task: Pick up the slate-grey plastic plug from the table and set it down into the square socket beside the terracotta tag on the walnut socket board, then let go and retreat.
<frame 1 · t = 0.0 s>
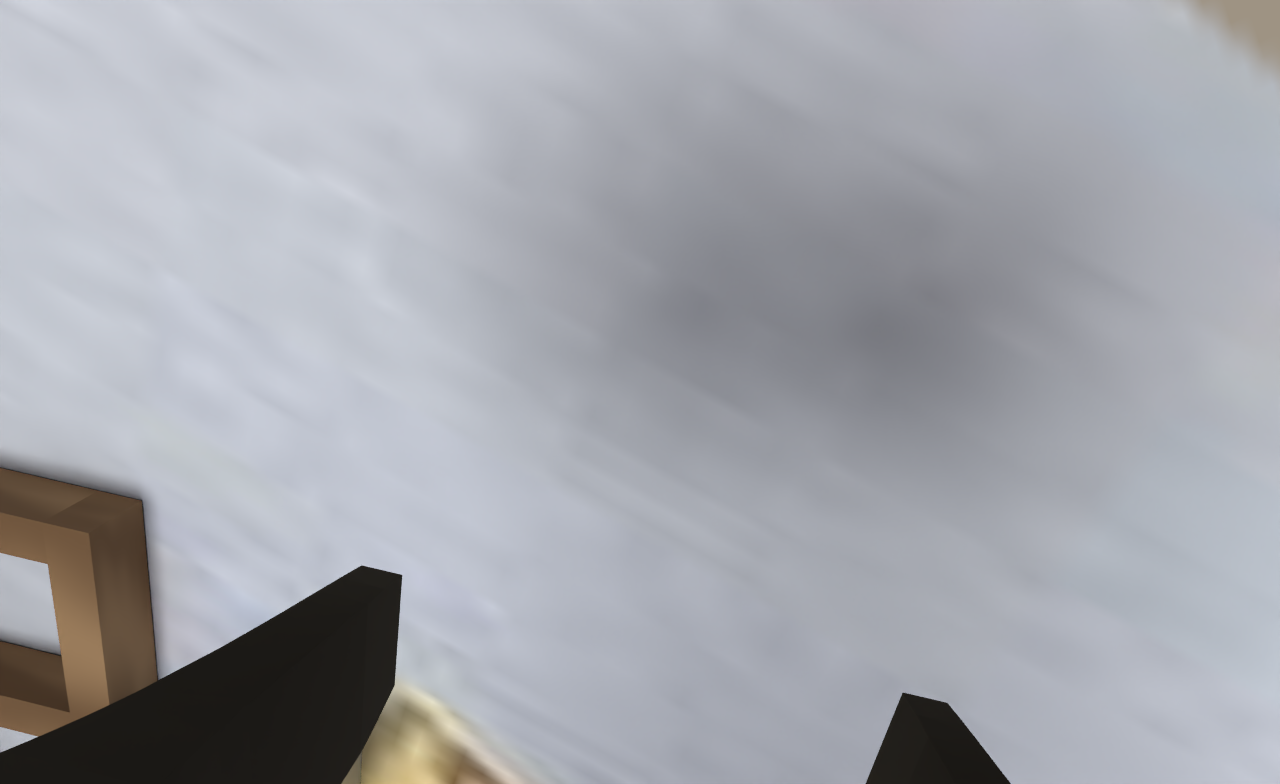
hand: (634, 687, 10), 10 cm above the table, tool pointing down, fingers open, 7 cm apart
plug: (303, 730, 25), on the table
socket board: (44, 667, 26), on the table
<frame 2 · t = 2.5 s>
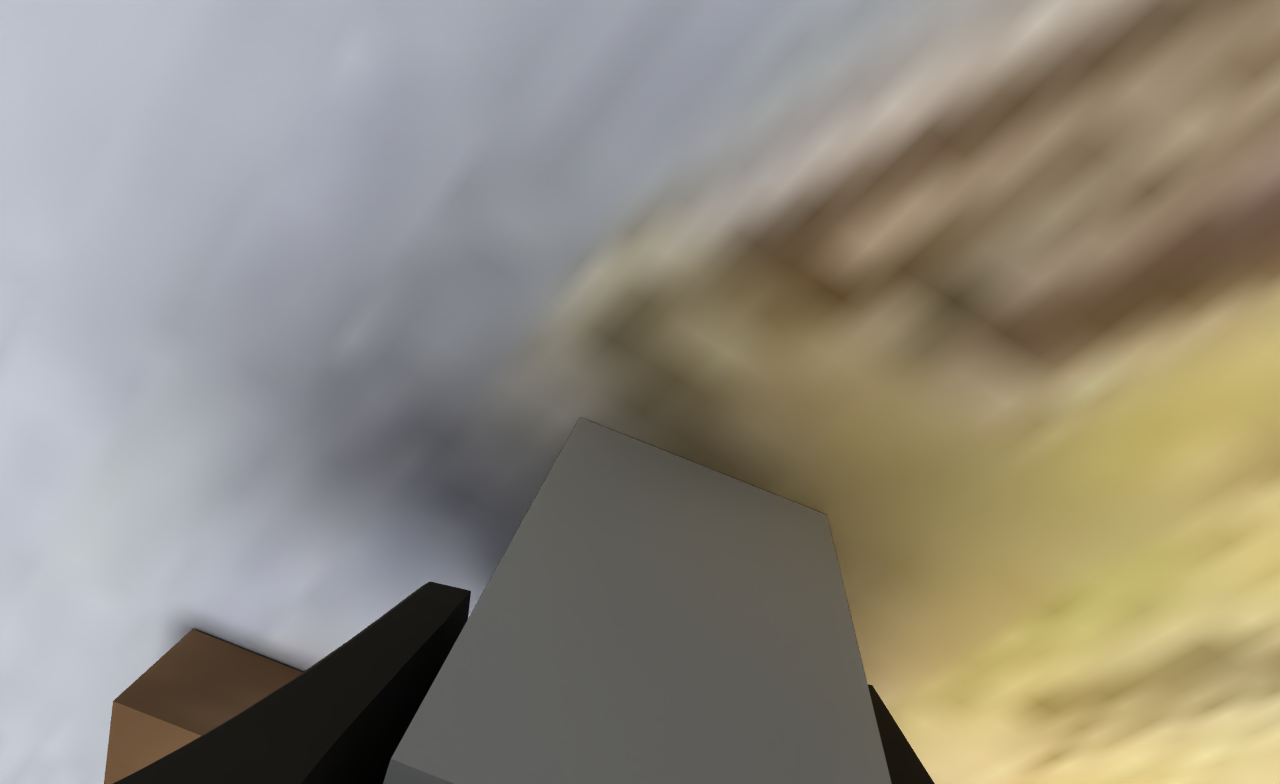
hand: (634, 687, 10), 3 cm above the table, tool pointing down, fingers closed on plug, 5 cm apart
plug: (656, 569, 13), on the table, touching gripper
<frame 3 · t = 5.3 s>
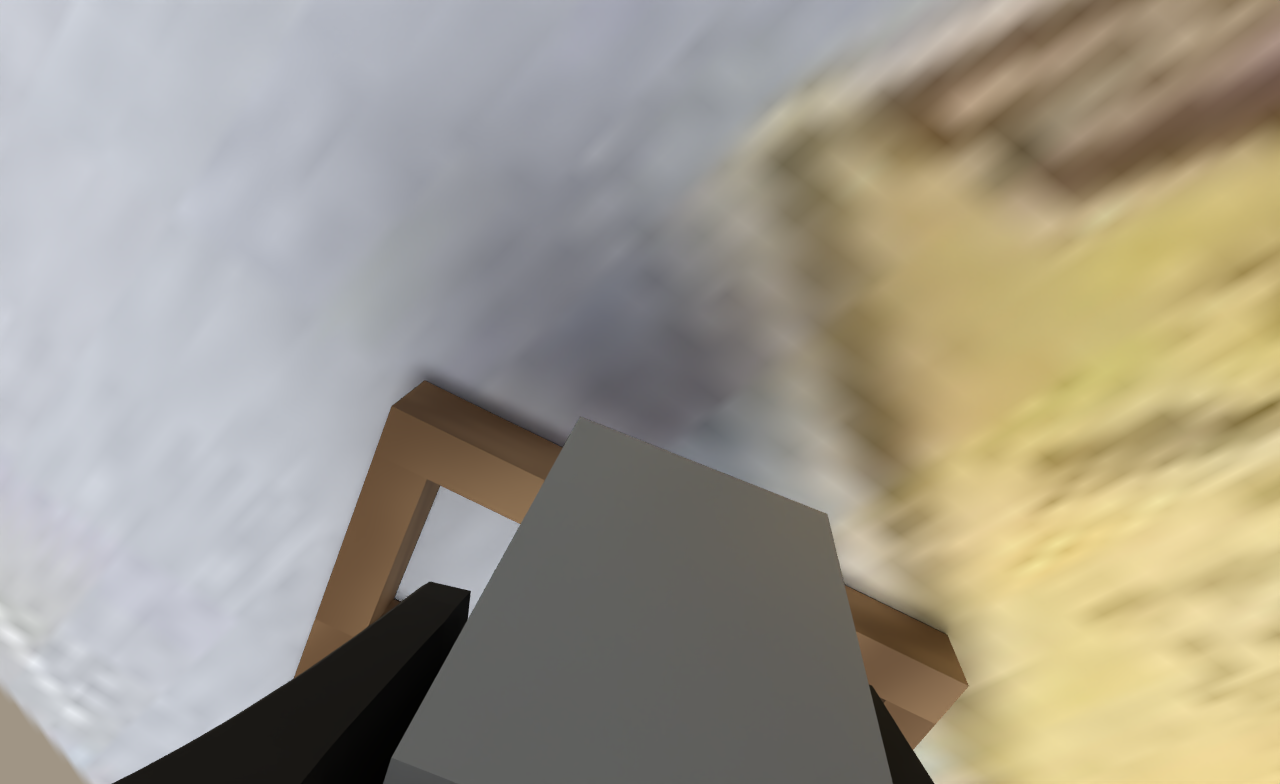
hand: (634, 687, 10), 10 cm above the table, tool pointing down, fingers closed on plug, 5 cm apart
plug: (656, 568, 13), point 7 cm above the table, touching gripper
socket board: (623, 623, 21), on the table
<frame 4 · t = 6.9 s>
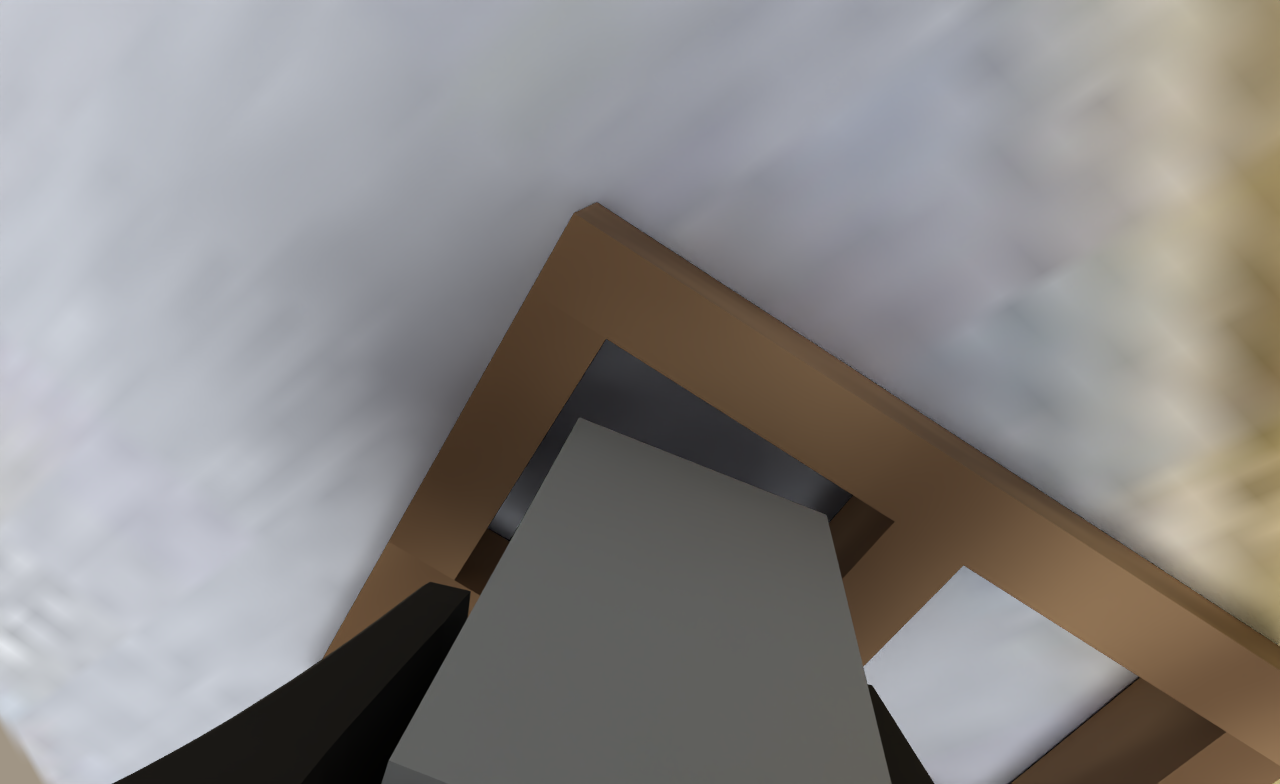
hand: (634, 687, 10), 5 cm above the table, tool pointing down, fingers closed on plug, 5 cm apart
plug: (655, 569, 13), point 3 cm above the table, touching gripper
socket board: (814, 590, 15), on the table
when the fingers open (4 cm above the table, at t = 8.3 s): plug stays where it is, resting in socket board.
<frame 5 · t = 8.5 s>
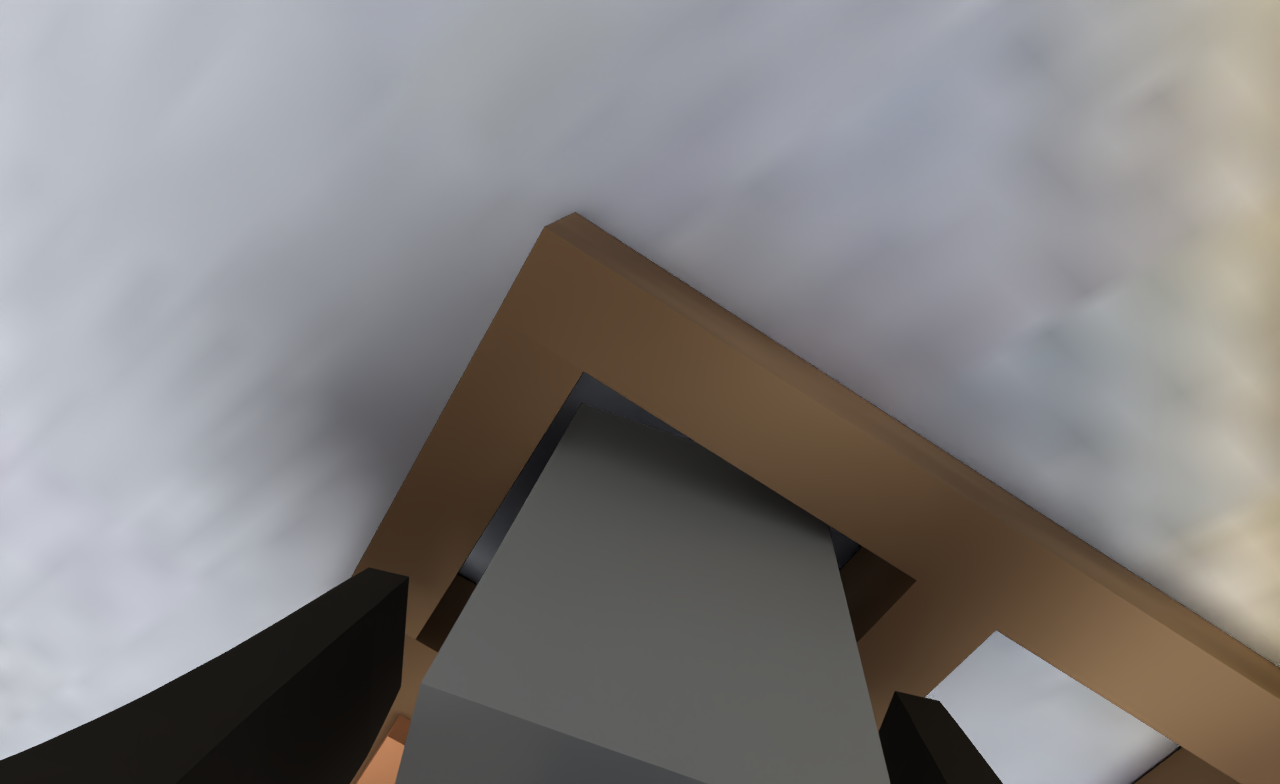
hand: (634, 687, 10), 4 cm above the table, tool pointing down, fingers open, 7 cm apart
plug: (660, 544, 13), resting in socket board
socket board: (822, 644, 14), on the table
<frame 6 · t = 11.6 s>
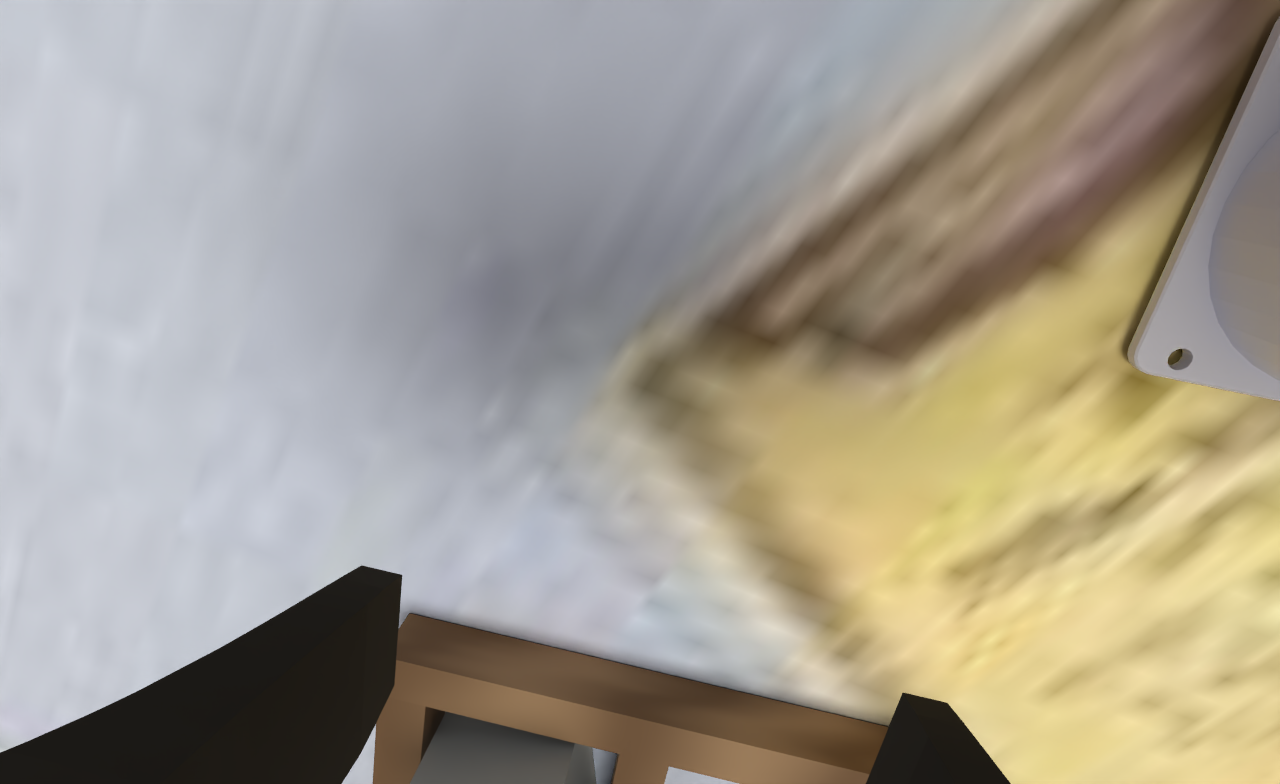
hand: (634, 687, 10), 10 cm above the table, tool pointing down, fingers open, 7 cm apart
plug: (528, 747, 24), resting in socket board
socket board: (635, 776, 24), on the table
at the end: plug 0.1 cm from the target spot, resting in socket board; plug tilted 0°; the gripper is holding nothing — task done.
